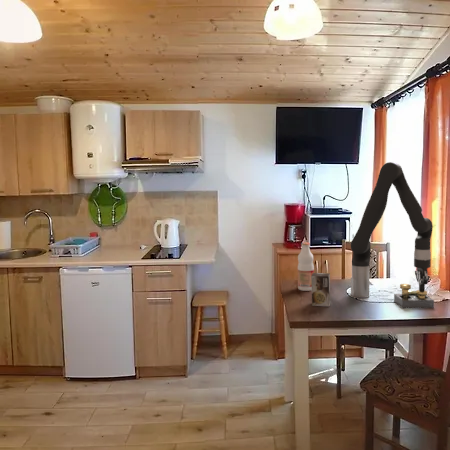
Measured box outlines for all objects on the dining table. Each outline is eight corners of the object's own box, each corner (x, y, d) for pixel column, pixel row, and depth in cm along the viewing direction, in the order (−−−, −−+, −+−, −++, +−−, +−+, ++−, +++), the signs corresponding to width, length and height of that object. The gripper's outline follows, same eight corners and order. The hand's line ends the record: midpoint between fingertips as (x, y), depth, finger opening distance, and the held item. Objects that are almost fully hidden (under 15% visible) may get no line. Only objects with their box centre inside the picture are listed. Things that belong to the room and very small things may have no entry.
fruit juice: (295, 287, 245) (294, 242, 242) (310, 286, 247) (309, 241, 244) (302, 291, 236) (301, 244, 233) (316, 290, 238) (316, 243, 235)
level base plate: (402, 308, 200) (402, 297, 200) (394, 301, 212) (394, 290, 212) (433, 308, 199) (433, 296, 199) (423, 300, 211) (423, 290, 211)
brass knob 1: (402, 299, 204) (402, 286, 203) (398, 296, 208) (398, 283, 208) (412, 299, 203) (412, 286, 202) (408, 296, 208) (408, 283, 207)
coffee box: (330, 303, 213) (330, 273, 211) (329, 306, 207) (329, 276, 205) (313, 302, 216) (312, 272, 214) (311, 305, 210) (311, 275, 208)
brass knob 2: (418, 305, 203) (418, 292, 203) (414, 302, 208) (414, 290, 207) (428, 305, 203) (428, 292, 202) (424, 302, 208) (424, 289, 207)
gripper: (409, 255, 210) (409, 288, 212) (419, 260, 197) (419, 295, 199) (424, 255, 209) (423, 287, 211) (435, 260, 196) (435, 294, 198)
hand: (421, 291), depth 205 cm, fingers closed
